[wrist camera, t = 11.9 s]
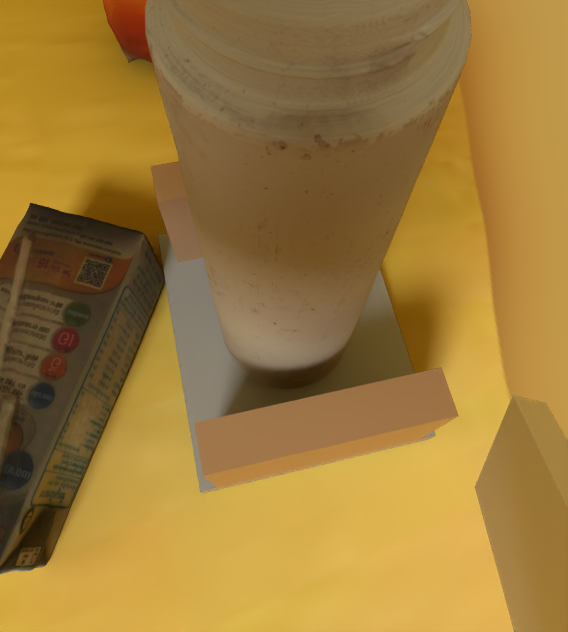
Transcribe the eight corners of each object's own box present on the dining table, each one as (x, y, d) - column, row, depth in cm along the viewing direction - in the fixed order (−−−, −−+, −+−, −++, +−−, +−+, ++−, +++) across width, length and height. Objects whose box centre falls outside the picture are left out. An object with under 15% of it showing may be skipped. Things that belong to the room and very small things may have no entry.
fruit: (84, 71, 41) (77, -54, 36) (131, 53, 47) (131, -56, 42) (183, 96, 40) (189, -28, 35) (217, 74, 46) (227, -33, 42)
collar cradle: (161, 243, 37) (132, 169, 29) (353, 207, 39) (374, 127, 31) (202, 493, 31) (180, 481, 23) (429, 438, 32) (478, 411, 25)
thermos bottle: (214, 282, 35) (39, -453, 9) (332, 261, 35) (501, -474, 9) (234, 400, 32) (64, -164, 6) (362, 375, 33) (724, -225, 7)
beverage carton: (-81, 528, 30) (-171, 528, 24) (65, 245, 37) (24, 188, 31) (48, 571, 29) (-10, 582, 23) (172, 274, 36) (152, 223, 30)
